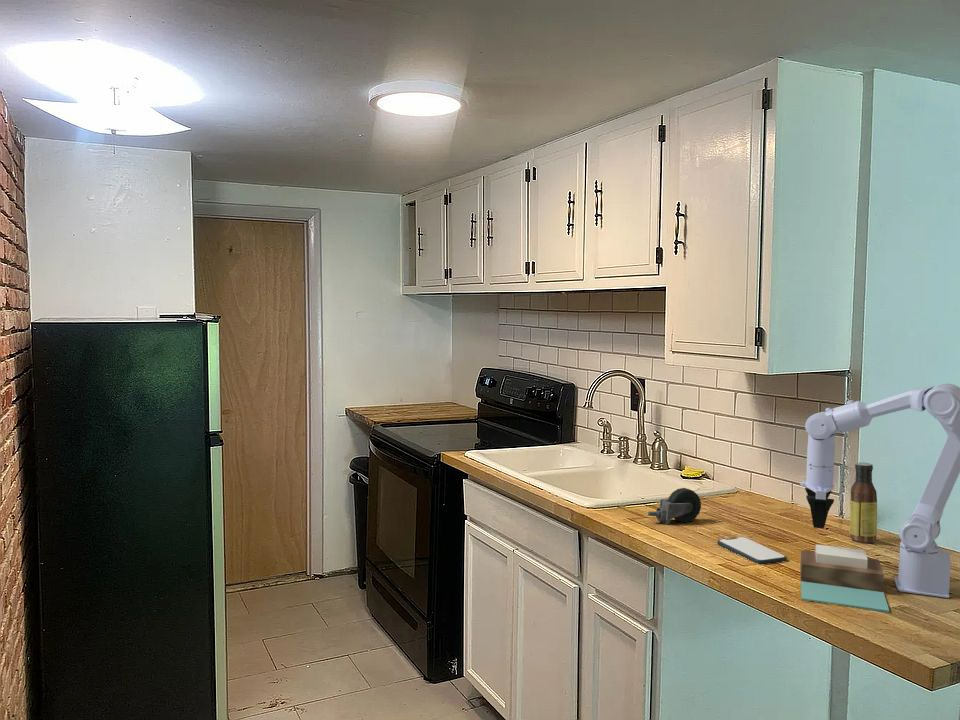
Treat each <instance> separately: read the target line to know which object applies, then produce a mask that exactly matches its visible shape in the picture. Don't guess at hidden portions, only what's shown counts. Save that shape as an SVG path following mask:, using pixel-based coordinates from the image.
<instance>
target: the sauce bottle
mask: <svg viewBox="0 0 960 720" xmlns="http://www.w3.org/2000/svg"><path fill="white" fill-rule="evenodd" d="M854 469H855V480H854V482H853V484H852V485H851V487H850V499H849V503H850V504H849V535H850V536H849V537H850V539H851V540H852V541H855V542H857V541H858V543H862V544H873V543H876V541H877V536H878V498H877V497H878V496H877V495H878V494H877V490H876V488H875V486H874V483H873V470H874V466H873V464H872V463H869V462H856V463H854Z"/></svg>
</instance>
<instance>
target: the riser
mask: <svg viewBox="0 0 960 720" xmlns="http://www.w3.org/2000/svg"><path fill="white" fill-rule="evenodd" d="M815 552H816V551H815V550H814V551H812V550H805V549H804V550H803V549H801V550H800V563H799V564H800V566H799V569H800V570H799V572H801V573H800V582H801V581H803V582H811V583H818V584H826V585H833V586H840V587H848V588H855V589H863V590H870V591H877V592H884V583H885V573H884V570H883V568H882V565H881V562H880V559H879V558H870V557H867V559H868V564H867V569H863V568H855V567H848V566H840V565H832V564H824V563H816V554H815Z"/></svg>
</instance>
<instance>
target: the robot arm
mask: <svg viewBox="0 0 960 720" xmlns="http://www.w3.org/2000/svg"><path fill="white" fill-rule="evenodd" d="M845 403H846V404H844V405H841V406H840V405H839V406H837V407H834V408H832V407H827V408H825V411H820V412H817V413H814V414H812V415H810V416H809V417H808V418H807V419H806V421H805V425H804V426H805V427H804V428H805V431H806V433H807V437H808V438H807V447H806V448H807V449H806V452H807V453H806V471H805V472H806V474H805V475H806V476H805V481H800V482H799V483H800V484H799V485H800V486H801V487H804V490H805V492H806V494H807V495H806V501H807V502H808V505H809V508H810V514H811V521H812V526H813V528H814V529H820V530H821V529H822V530H823V529H824V528H825V526H826V523H827V520H828V519H827V518H828V514H829V511H830V509H831V507H832V506H833V504H834V503H835V499H834V498H829V497H830V494H831V493H832V491H833V490H834V489H835V484H834V476H835V475H834V474H835V452H836V448H835V447H836V445H835V438H836V434H843V433H846V432H849V431H853V430H858V429H861V428H864V427H868V426H870V424H871V423H872V420H873V419H874V418H878V417H880V416H884V415H889V414H891V413H896V412H901V411H904V410H907V409H909V410H910V409H911V410H914V411H917V412H924V411H925V410H926V411H927V412H928V413H929V415H931V416H932V417H933V418H934V419H935V420H937V421H938V422H939V423H940V425H941V426H942V427H943V429H944V431H945V432H946V435H947V437H946V439H945V441H944V443H943V446H942V448H941V450H940V453H939V455H938V457H937V459H936V462H935V463H934V466H933V468H932V471H931V473H930V475H929V478H928V480H927V483H926V485H925V487H924V489H923V491H922V494H921V496H920V499H919V501H918V503H917V505H916V507H915V508H914V510H913V512H912V514H911V516H910V517H909V519H908V520H907V521H906V522H904V523H902V525H901V527H900V528H899V533H898V535H899V539H900V543H899V555H898V557H899V558H898V576H896V577H893V582H894V583H895V587H896V589H897V591H898V592H901V593H908V594H909V593H910V594H916V595H923V596H931V597H939V598H947V599H949V598H950V583H951V582H950V581H951V570H952V568H951V567H952V565H951V563H952V562H951V554H950V552H949V551H947V550H944V549H943V550H941V549H940V546H938V544H937V542H936V541H935V540H936V539H937V538H938V537H939V535H940V534H941V528H942V527H941V523H940V522H941V518H942V516H943V515H944V514H943V513H944V509H945V507H946V504H947V503H948V500H949V498H950V496H951V494H952V492H953V489H954V487H955V484H956V483H957V480H958V478H959V476H960V386H958V385H956V384H953V383H942V384H940V385H938V386H936V387H935V385H934V386H926V387H921V388H915V389H911V390H908V391H906V392H902V393H899V394H896V395H893V396H890V397H886V398H884V399H883V398H882V399H881V400H877V401H874V402H872V403H865V402H863V401H861V400H856V401H855V400H854V399H851V400H847V401H846V402H845Z"/></svg>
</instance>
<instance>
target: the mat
mask: <svg viewBox="0 0 960 720" xmlns="http://www.w3.org/2000/svg"><path fill="white" fill-rule="evenodd" d="M800 593H801V594H800V595H801V601H804V600H805V601H806V600H807V601H806V602H811V601H814V602H813V603H818V602H821V604H825V603H830V604H829V605H832V604H838V605H837V606H839V605H842V606H841V607H846V606H848V608H853V607H856V608H855V609H860V608H862V609H861V610H867V609H869V610H868V611H876V612H881V613H890V609H889V606H888V605H889V604H888V603H887V599H886V596H885V592H884V591H883V592H877V591H870V590H863V589H855V588H848V587H840V586H833V585H826V584H818V583H811V582H803V581H801V580H800ZM843 605H844V606H843Z"/></svg>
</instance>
